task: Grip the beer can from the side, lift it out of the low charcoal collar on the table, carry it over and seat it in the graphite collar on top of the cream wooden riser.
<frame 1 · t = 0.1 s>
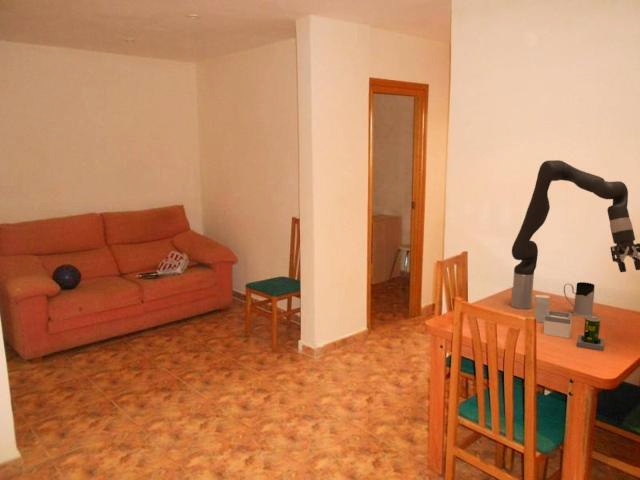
hand: (631, 271, 204), 31 cm above the table, tool tilted 20°, fingers open, 8 cm apart
table dock: (590, 344, 212), on the table
beer can: (590, 345, 212), resting in table dock
skincare box: (540, 321, 240), on the table
grey container: (576, 313, 250), on the table
riser: (557, 332, 226), on the table
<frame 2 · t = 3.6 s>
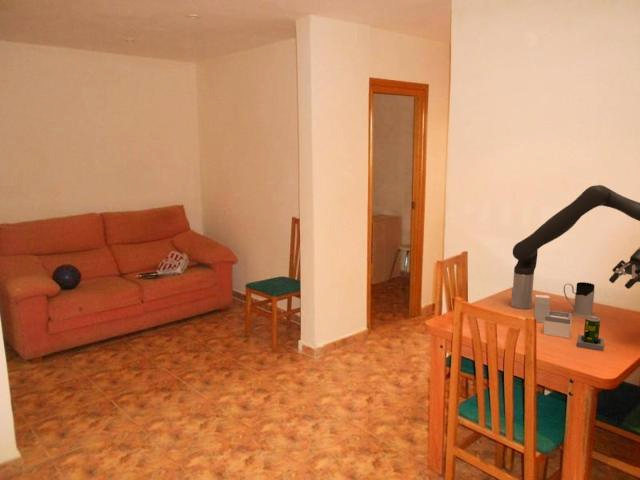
hand: (618, 284, 209), 25 cm above the table, tool tilted 45°, fingers open, 8 cm apart
nothing on the table moved.
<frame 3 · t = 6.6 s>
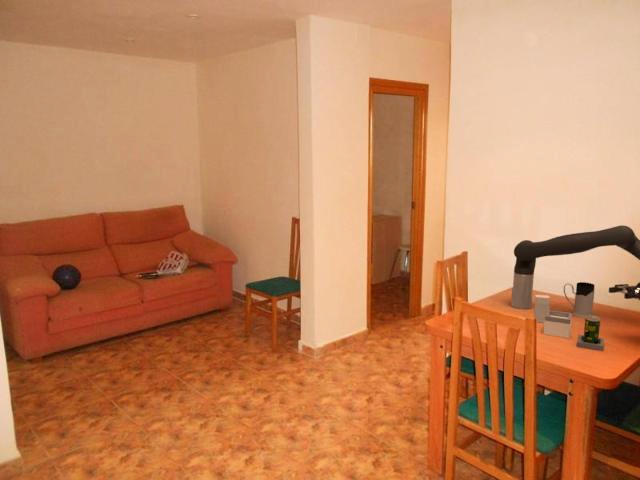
hand: (617, 293, 210), 21 cm above the table, tool horizontal, fingers open, 8 cm apart
nothing on the table moved.
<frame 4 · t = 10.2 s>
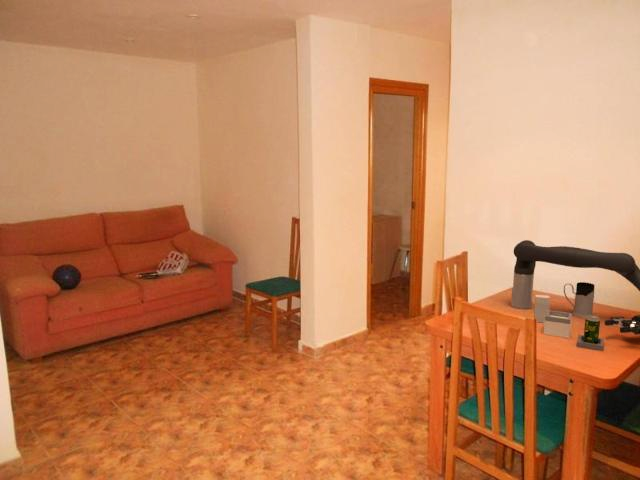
hand: (612, 326, 212), 7 cm above the table, tool horizontal, fingers open, 8 cm apart
nothing on the table moved.
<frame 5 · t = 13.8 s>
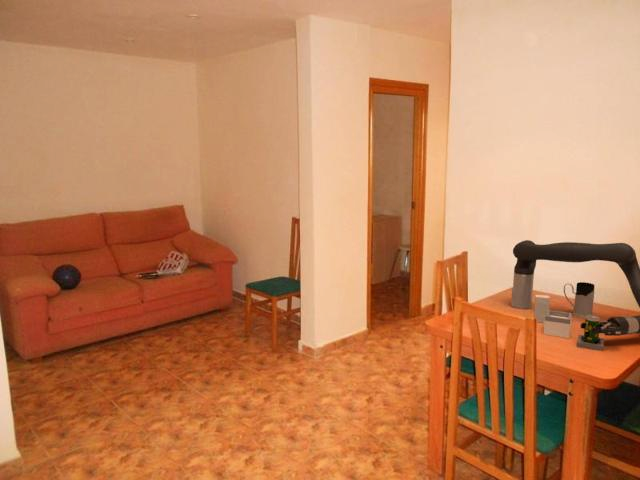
hand: (586, 328, 210), 7 cm above the table, tool horizontal, fingers closed on beer can, 5 cm apart
beer can: (590, 345, 212), resting in table dock, touching gripper
everything else where it was.
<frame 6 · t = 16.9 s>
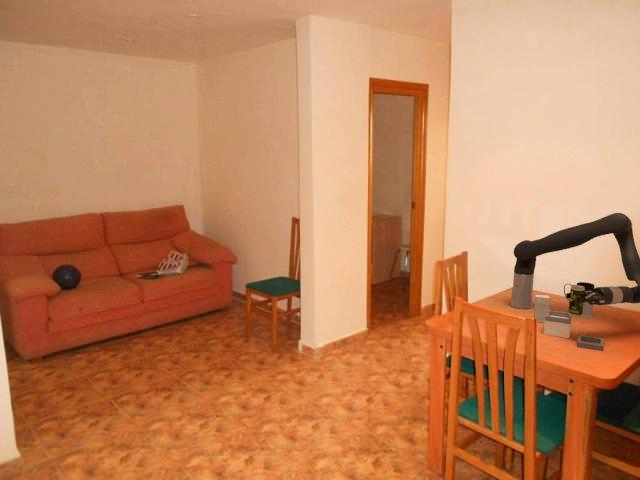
hand: (571, 298, 215), 18 cm above the table, tool horizontal, fingers closed on beer can, 5 cm apart
beer can: (575, 314, 217), point 10 cm above the table, touching gripper
everything else where it was.
when the fingers open (14 cm above the table, at t = 19.9 s): beer can drops 1 cm, resting on riser.
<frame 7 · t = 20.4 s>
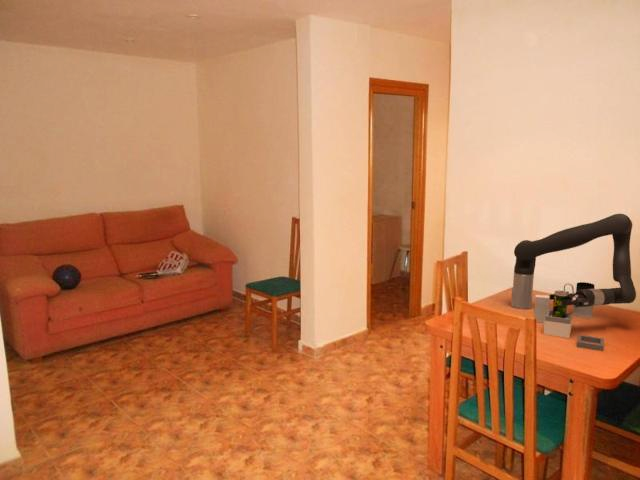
hand: (556, 300, 223), 15 cm above the table, tool horizontal, fingers open, 8 cm apart
beer can: (558, 319, 225), point 6 cm above the table, touching riser
everything else where it was.
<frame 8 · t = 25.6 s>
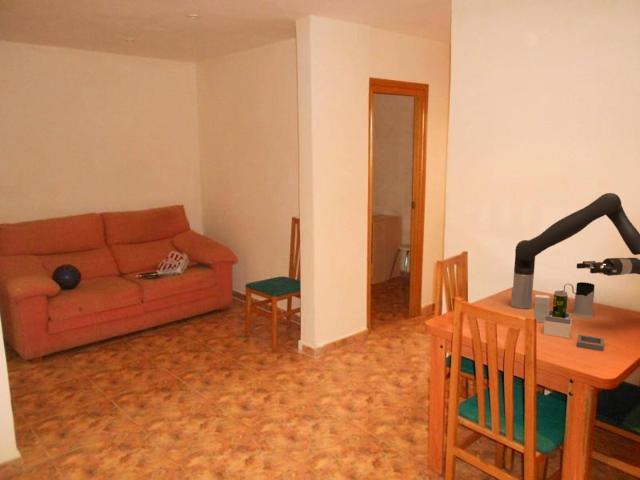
hand: (583, 268, 222), 28 cm above the table, tool horizontal, fingers open, 8 cm apart
nothing on the table moved.
at the end: beer can 0.1 cm off-centre on the riser, point 5.8 cm above the riser's base; beer can tilted 0°; the gripper is holding nothing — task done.
